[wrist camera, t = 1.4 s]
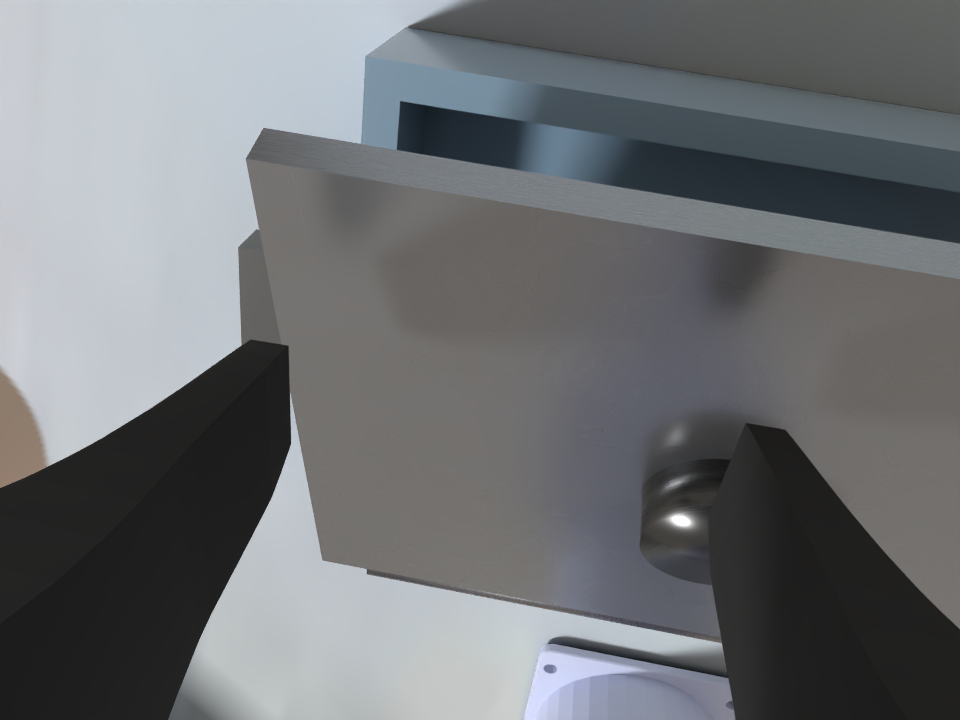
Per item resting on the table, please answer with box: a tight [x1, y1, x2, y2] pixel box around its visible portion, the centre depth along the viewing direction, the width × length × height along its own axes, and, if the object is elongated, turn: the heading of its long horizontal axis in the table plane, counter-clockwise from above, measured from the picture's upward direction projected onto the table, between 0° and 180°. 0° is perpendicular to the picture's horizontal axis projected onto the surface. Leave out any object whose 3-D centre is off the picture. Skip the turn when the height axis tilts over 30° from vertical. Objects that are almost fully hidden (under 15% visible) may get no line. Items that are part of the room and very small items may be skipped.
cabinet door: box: [246, 128, 960, 643], centre depth 17 cm, size 15×19×2 cm
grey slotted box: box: [238, 27, 960, 345], centre depth 22 cm, size 14×24×4 cm, turn 83°
